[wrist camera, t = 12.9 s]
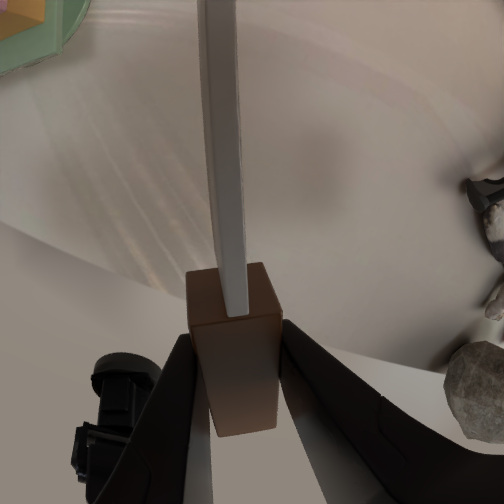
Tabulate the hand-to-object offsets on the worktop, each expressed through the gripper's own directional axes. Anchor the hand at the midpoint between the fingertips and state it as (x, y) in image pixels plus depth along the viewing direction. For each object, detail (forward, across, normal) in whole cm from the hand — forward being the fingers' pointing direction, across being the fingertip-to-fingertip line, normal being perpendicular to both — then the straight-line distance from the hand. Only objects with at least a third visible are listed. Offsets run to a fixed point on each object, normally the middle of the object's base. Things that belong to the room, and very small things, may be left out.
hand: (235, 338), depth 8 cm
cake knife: (+1, 0, -2) cm, 2 cm away
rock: (0, -28, +28) cm, 39 cm away
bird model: (+8, -31, +6) cm, 33 cm away
